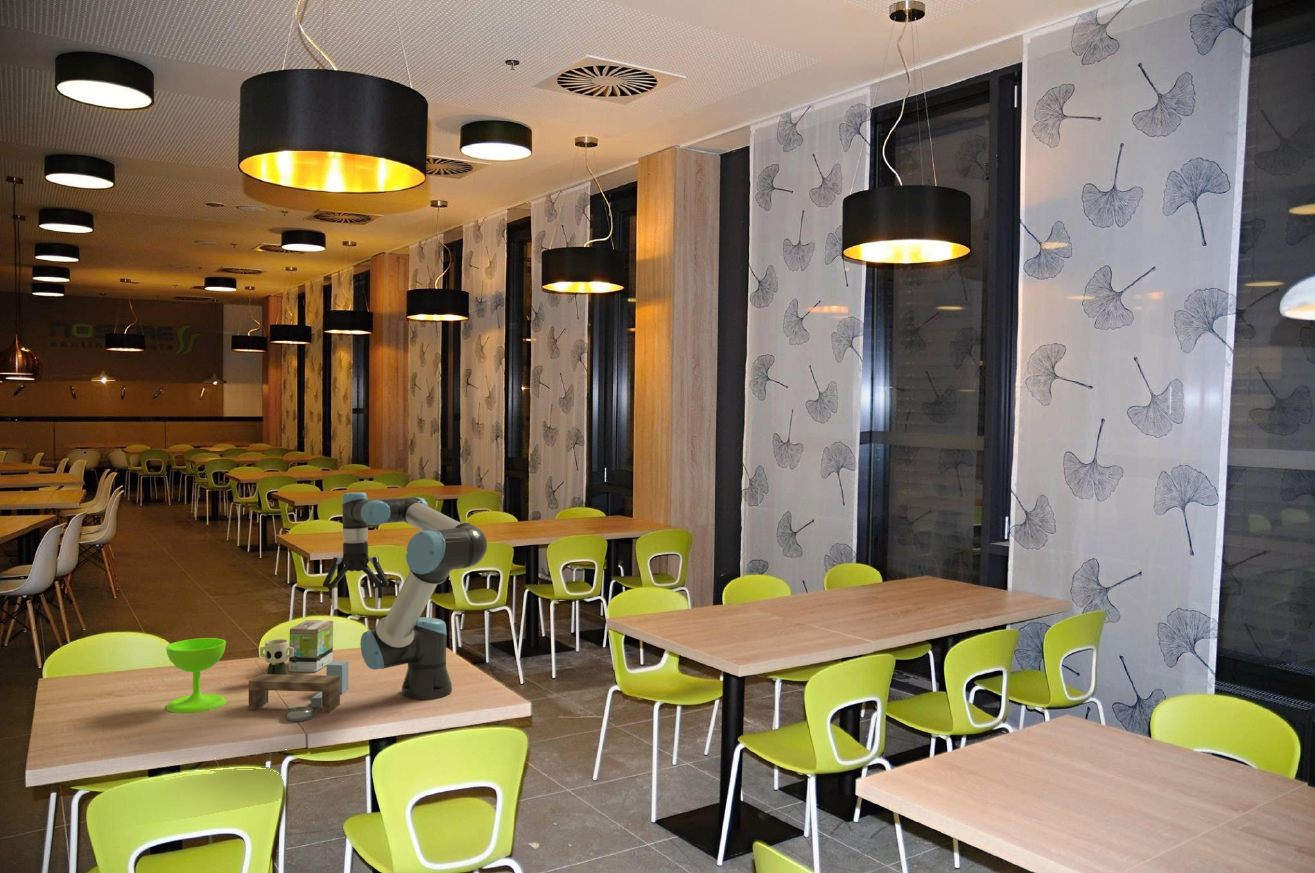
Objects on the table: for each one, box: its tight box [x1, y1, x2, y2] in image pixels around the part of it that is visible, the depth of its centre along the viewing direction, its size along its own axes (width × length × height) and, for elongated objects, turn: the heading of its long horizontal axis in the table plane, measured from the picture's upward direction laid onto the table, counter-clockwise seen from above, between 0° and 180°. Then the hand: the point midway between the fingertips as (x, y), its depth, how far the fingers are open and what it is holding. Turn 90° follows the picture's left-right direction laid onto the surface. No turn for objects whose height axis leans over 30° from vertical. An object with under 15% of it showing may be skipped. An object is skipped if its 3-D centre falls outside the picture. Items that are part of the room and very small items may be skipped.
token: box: [286, 706, 314, 723], centre depth 268 cm, size 7×7×2 cm
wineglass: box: [165, 637, 227, 714], centre depth 280 cm, size 16×16×18 cm
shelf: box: [248, 673, 341, 713], centre depth 278 cm, size 24×8×8 cm, turn 86°
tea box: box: [288, 619, 334, 673], centre depth 324 cm, size 15×10×15 cm
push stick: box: [310, 660, 350, 708], centre depth 288 cm, size 18×5×9 cm, turn 176°
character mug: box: [259, 638, 294, 675], centre depth 305 cm, size 11×7×13 cm, turn 90°
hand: (356, 608), depth 298 cm, fingers open, 13 cm apart
